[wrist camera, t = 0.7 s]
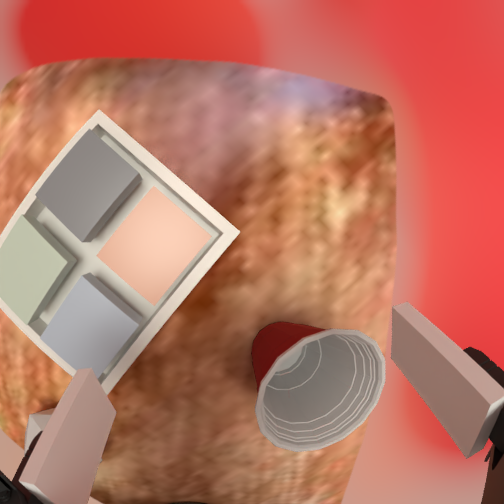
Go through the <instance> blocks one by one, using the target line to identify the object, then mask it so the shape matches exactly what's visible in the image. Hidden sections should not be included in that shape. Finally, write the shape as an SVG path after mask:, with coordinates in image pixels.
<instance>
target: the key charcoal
mask: <svg viewBox="0 0 504 504" xmlns="http://www.w3.org/2000/svg"><path fill="white" fill-rule="evenodd" d="M141 181H142V177H141V175H140V174H139V172H138V171H137V170H135V169H134V168H133V167H132V166H131V165H130V164H129V163H128V162H126V161H125V160H124V159H123V158H122V157H121V156H120V155H119V154H117V153H116V152H115V151H114V150H113V149H112V148H111V147H110V146H108V145H107V144H106V143H105V142H104V141H103V140H102V139H101V138H99V137H98V136H97V135H96V134H95V133H94V132H93V131H92V130H91V129H89V130H88V131H87V132H86V133H85V134H84V135H83V136H82V137H81V138H80V139H79V141H78V142H77V143H76V144H75V145H74V146H73V147H72V149H71V150H70V151H69V152H68V153H67V154H66V156H65V157H64V158H63V159H62V160H61V162H60V163H59V164H58V165H57V167H56V168H55V169H54V170H53V172H52V173H51V174H50V175H49V177H48V178H47V179H46V181H45V182H44V183H43V185H42V186H41V187H40V189H39V190H38V191H37V193H36V194H35V196H36V197H37V198H38V199H39V200H40V201H41V202H42V203H43V204H44V205H45V206H46V207H47V208H48V209H49V210H50V211H51V212H52V213H53V214H54V215H55V216H56V217H57V218H58V219H59V220H60V221H61V222H62V223H63V224H64V225H65V226H66V227H67V228H68V229H69V230H70V231H71V232H72V233H73V234H74V235H75V236H76V237H77V238H78V239H79V240H80V241H81V242H91V241H92V240H93V239H94V237H95V236H96V235H97V233H98V232H99V231H100V230H101V228H102V227H103V226H104V225H105V223H106V222H107V221H108V220H109V218H110V217H111V216H112V215H113V213H114V212H115V211H116V210H117V209H118V207H119V206H120V205H121V204H122V203H123V201H124V200H125V199H126V198H127V197H128V195H129V194H130V193H131V192H132V191H133V190H134V188H135V187H136V186H137V185H138V184H139V183H140V182H141Z"/></svg>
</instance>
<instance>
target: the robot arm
mask: <svg viewBox="0 0 504 504" xmlns="http://www.w3.org/2000/svg"><path fill="white" fill-rule="evenodd" d="M391 359H392V360H393V361H394V362H395V364H396V365H397V366H398V368H399V369H400V370H401V371H402V373H403V374H404V375H405V377H406V378H407V379H408V380H409V382H410V383H411V384H412V386H413V387H414V388H415V389H416V391H417V392H418V394H419V395H420V396H421V397H422V399H423V400H424V401H425V403H426V404H427V405H428V407H429V408H430V409H431V411H432V412H433V413H434V415H435V416H436V417H437V419H438V420H439V421H440V423H441V424H442V426H443V427H444V428H445V430H446V431H447V432H448V434H449V435H450V436H451V438H452V439H453V441H454V442H455V443H456V445H457V446H458V447H459V449H460V450H461V452H462V453H463V455H464V456H465V457H466V459H467V458H469V457H470V456H472V455H474V454H475V453H477V452H478V451H480V450H482V449H483V448H484V446H485V444H486V442H487V440H488V438H489V439H490V440H491V441H492V443H493V445H492V447H491V449H490V450H489V452H488V454H487V456H486V458H485V462H487V461H488V459H489V457H490V461H489V467H488V472H487V478H486V483H485V488H484V493H483V498H482V502H481V504H504V371H503V370H502V369H501V368H500V367H497V365H496V364H495V363H494V362H493V361H490V359H489V358H488V357H487V356H486V355H485V354H484V353H483V352H481V351H479V350H476V349H474V348H472V347H468V348H466V349H464V350H462V349H461V348H460V347H459V346H458V345H456V344H455V343H454V342H453V341H452V340H451V339H450V338H449V337H447V336H446V335H445V334H444V333H443V332H442V331H441V330H439V329H438V328H437V327H436V326H435V325H434V324H432V323H431V322H430V321H429V320H428V319H427V318H426V317H425V316H423V315H422V314H421V313H420V312H419V311H417V310H416V309H415V308H414V307H413V306H412V305H410V304H409V303H408V302H405V303H403V304H399V305H396V306H393V307H392V347H391ZM115 415H116V411H115V409H114V407H113V406H112V404H111V402H110V401H109V399H108V397H107V395H106V394H105V392H104V390H103V388H102V386H101V385H100V383H99V381H98V379H97V377H96V375H95V373H94V372H93V370H92V368H85V369H78V370H77V372H76V374H75V375H74V377H73V379H72V380H71V382H70V384H69V385H68V387H67V389H66V391H65V392H64V394H63V396H62V398H61V399H60V401H59V403H58V405H57V406H56V408H55V410H54V412H53V414H52V416H51V417H50V419H49V421H48V423H47V425H46V427H45V429H44V430H43V431H40V432H39V433H38V434H37V435H36V436H35V437H34V438H33V440H32V442H31V444H30V446H29V450H27V452H26V453H25V457H23V459H22V461H21V463H20V465H19V468H18V469H17V472H16V474H15V476H14V478H13V480H12V482H11V481H10V480H9V479H8V478H7V477H6V476H5V475H4V474H3V473H2V472H1V471H0V504H87V503H88V500H89V496H90V493H91V489H92V486H93V483H94V479H95V476H96V473H97V470H98V466H99V463H100V460H101V457H102V454H103V451H104V448H105V445H106V442H107V439H108V436H109V433H110V430H111V427H112V424H113V421H114V418H115ZM172 504H203V503H172Z"/></svg>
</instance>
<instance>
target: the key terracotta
mask: <svg viewBox="0 0 504 504" xmlns="http://www.w3.org/2000/svg"><path fill="white" fill-rule="evenodd" d="M211 237H212V236H211V235H210V234H209V233H208V232H206V231H205V230H204V229H203V228H202V227H201V226H199V225H198V224H197V223H196V222H195V221H194V220H193V219H191V218H190V217H189V216H188V215H187V214H186V213H185V212H183V211H182V210H181V209H180V208H179V207H178V206H176V205H175V204H174V203H173V202H172V201H171V200H170V199H168V198H167V197H166V196H165V195H164V194H163V193H162V192H160V191H159V190H158V189H157V188H156V187H155V186H153V187H152V188H151V189H150V190H149V192H148V193H147V194H146V195H145V196H144V197H143V199H142V200H141V201H140V202H139V203H138V204H137V206H136V207H135V208H134V209H133V210H132V211H131V213H130V214H129V215H128V216H127V217H126V219H125V220H124V221H123V222H122V224H121V225H120V226H119V227H118V228H117V230H116V231H115V232H114V233H113V235H112V236H111V237H110V239H109V240H108V241H107V242H106V244H105V245H104V246H103V248H102V249H101V250H100V251H99V253H98V254H97V255H96V256H97V257H98V258H99V259H100V260H101V261H103V262H104V263H105V264H106V265H107V266H108V267H109V268H110V269H111V270H113V271H114V272H115V273H116V274H117V275H118V276H119V277H120V278H122V279H123V280H124V281H125V282H126V283H127V284H129V285H130V286H131V287H132V288H133V289H134V290H136V291H137V292H138V293H139V294H140V295H141V296H143V297H144V298H145V299H146V300H147V301H149V302H150V303H151V304H152V305H154V306H155V305H156V304H157V302H158V301H159V300H160V299H161V297H162V296H163V295H164V294H165V292H166V291H167V290H168V289H169V288H170V286H171V285H172V284H173V283H174V281H175V280H176V279H177V278H178V277H179V275H180V274H181V273H182V272H183V270H184V269H185V268H186V267H187V266H188V264H189V263H190V262H191V261H192V260H193V258H194V257H195V256H196V255H197V254H198V252H199V251H200V250H201V249H202V248H203V246H204V245H205V244H206V243H207V242H208V241H209V239H210V238H211Z"/></svg>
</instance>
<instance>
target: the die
mask: <svg viewBox="0 0 504 504" xmlns="http://www.w3.org/2000/svg"><path fill="white" fill-rule="evenodd" d="M54 410H55V408H52V409H48V410H44V411H41V412H37V413H33V414H30V415H29V419H28V423H27V428H26V432H25V453H26V452H27V450H29V446H30V444H31V442H32V440H33V438H34V437H35V436H36V435H37V434H38V433H39V432H40V431H43V430H44V429H45V427H46V425H47V423H48V421H49V419H50V417H51V416H52V414H53V412H54ZM25 453H24V457H25ZM101 462H102V457H101V460H100V463H101ZM100 463H99V464H100Z"/></svg>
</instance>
